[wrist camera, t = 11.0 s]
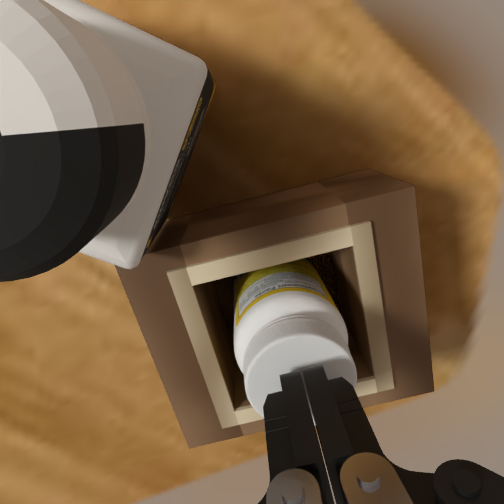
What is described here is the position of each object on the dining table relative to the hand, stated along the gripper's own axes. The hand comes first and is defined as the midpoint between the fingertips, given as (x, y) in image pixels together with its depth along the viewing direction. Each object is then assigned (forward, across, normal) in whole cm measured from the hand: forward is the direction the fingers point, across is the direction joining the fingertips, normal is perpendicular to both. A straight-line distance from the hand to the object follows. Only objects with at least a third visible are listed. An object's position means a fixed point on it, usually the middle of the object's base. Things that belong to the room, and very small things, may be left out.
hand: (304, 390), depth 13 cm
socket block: (+9, 0, 0) cm, 9 cm away
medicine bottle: (+9, +5, -10) cm, 14 cm away
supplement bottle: (+9, 0, 0) cm, 9 cm away
